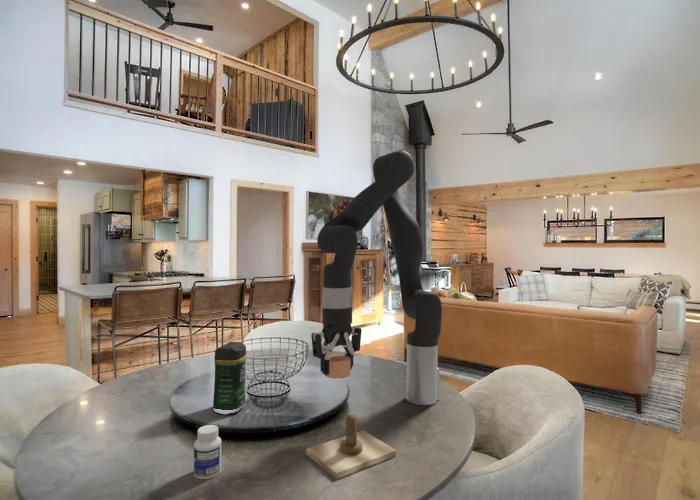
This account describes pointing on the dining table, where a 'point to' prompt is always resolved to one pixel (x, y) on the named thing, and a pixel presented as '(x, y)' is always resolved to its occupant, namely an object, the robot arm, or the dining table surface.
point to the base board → (348, 464)
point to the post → (351, 438)
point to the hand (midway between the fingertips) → (337, 371)
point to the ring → (338, 366)
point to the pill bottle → (207, 452)
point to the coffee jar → (229, 376)
